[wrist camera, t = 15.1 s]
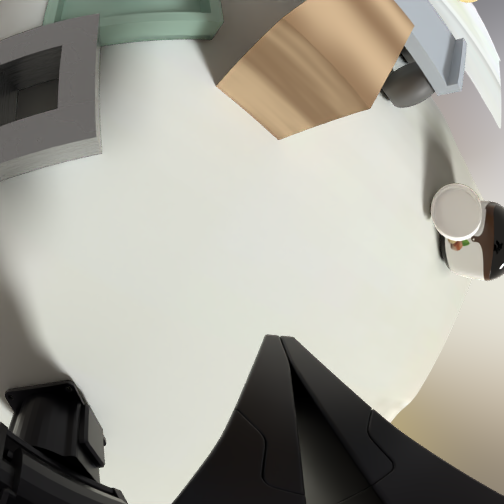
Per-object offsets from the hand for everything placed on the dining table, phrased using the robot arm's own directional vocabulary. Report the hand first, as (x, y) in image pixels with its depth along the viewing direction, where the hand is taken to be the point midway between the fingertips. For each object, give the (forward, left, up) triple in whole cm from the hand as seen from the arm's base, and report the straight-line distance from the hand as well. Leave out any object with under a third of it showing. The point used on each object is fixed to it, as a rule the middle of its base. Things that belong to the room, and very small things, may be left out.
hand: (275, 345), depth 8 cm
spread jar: (+33, -3, -11) cm, 35 cm away
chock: (+10, +14, -11) cm, 21 cm away
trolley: (+23, +21, -11) cm, 33 cm away
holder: (-8, +12, -11) cm, 19 cm away
